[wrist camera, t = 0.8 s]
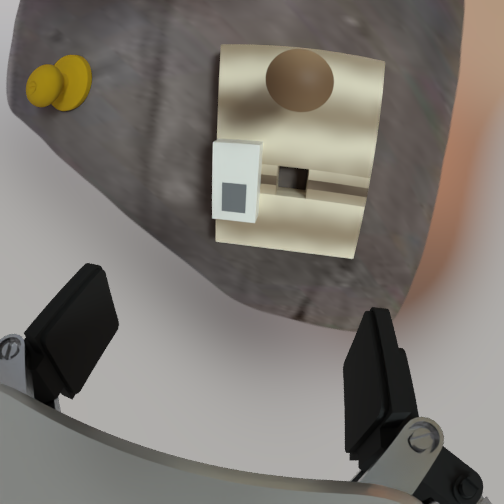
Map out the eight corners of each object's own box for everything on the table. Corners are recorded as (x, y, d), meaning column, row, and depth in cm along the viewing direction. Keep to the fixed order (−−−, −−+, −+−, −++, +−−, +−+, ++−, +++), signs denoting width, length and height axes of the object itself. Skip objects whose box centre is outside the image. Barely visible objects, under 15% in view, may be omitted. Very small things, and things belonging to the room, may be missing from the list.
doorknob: (54, 57, 29) (96, 53, 29) (49, 109, 33) (89, 110, 33) (17, 59, 23) (57, 52, 22) (12, 119, 27) (51, 119, 26)
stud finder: (219, 138, 30) (212, 142, 28) (263, 141, 29) (259, 145, 27) (217, 209, 34) (211, 218, 32) (258, 214, 33) (254, 223, 31)
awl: (281, 64, 25) (267, 46, 15) (323, 69, 25) (336, 53, 14) (278, 103, 27) (263, 109, 17) (319, 108, 27) (330, 116, 16)
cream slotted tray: (227, 48, 27) (220, 44, 25) (378, 64, 26) (385, 61, 23) (221, 230, 38) (215, 241, 36) (350, 246, 37) (353, 258, 34)
